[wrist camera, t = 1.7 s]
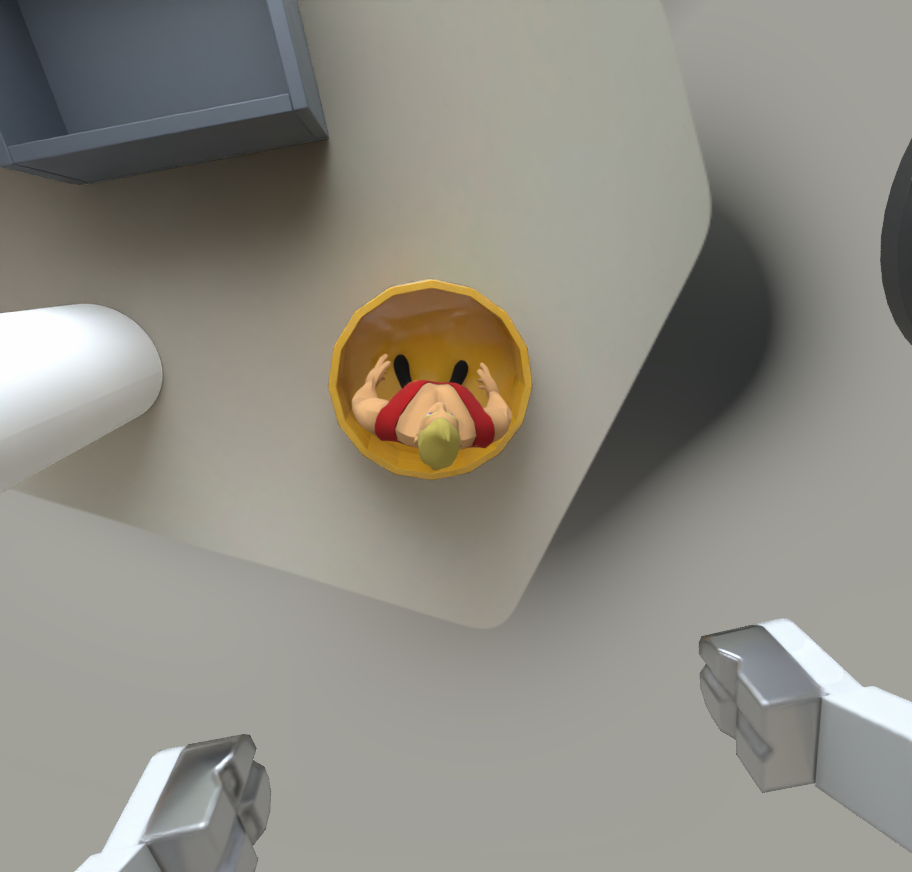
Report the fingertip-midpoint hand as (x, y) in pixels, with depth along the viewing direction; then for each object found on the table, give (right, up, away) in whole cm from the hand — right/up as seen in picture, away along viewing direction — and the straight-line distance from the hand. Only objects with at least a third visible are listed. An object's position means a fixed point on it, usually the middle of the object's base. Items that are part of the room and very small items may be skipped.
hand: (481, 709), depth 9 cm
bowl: (-2, +9, +28) cm, 29 cm away
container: (-17, +28, +20) cm, 38 cm away
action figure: (-2, +9, +27) cm, 29 cm away
